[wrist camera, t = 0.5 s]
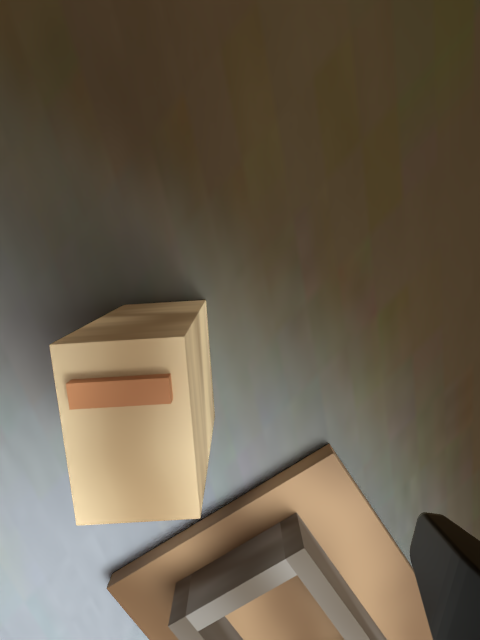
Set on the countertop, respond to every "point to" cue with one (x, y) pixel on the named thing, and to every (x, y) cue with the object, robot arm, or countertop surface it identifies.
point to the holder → (279, 568)
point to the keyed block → (137, 412)
